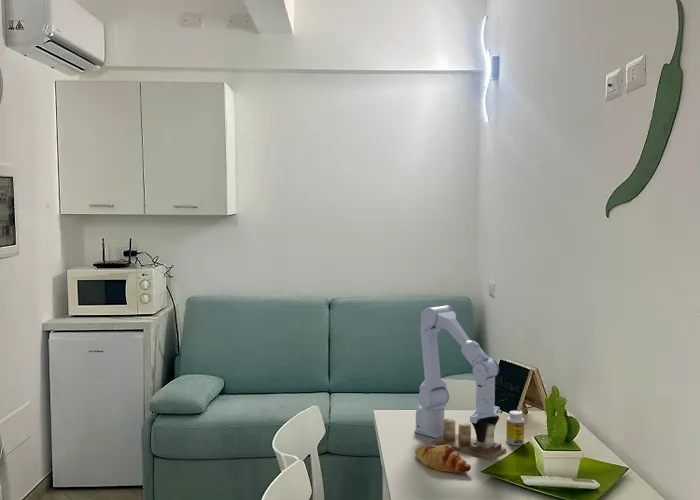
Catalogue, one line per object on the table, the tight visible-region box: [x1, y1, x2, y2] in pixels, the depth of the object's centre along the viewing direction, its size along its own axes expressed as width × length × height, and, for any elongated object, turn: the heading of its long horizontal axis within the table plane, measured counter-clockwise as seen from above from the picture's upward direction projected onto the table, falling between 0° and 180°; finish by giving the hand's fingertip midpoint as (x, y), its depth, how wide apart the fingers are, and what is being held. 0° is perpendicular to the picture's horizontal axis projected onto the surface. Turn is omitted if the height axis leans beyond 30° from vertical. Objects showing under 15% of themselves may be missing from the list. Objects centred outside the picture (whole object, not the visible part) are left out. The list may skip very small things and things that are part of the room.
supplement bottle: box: [505, 410, 525, 446], centre depth 215 cm, size 6×6×10 cm
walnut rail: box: [431, 418, 507, 461], centre depth 211 cm, size 22×10×7 cm, turn 47°
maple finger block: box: [475, 424, 495, 449], centre depth 207 cm, size 4×4×7 cm
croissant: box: [414, 444, 472, 474], centre depth 196 cm, size 21×10×8 cm, turn 43°
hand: (484, 439), depth 207 cm, fingers closed on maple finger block, 4 cm apart
